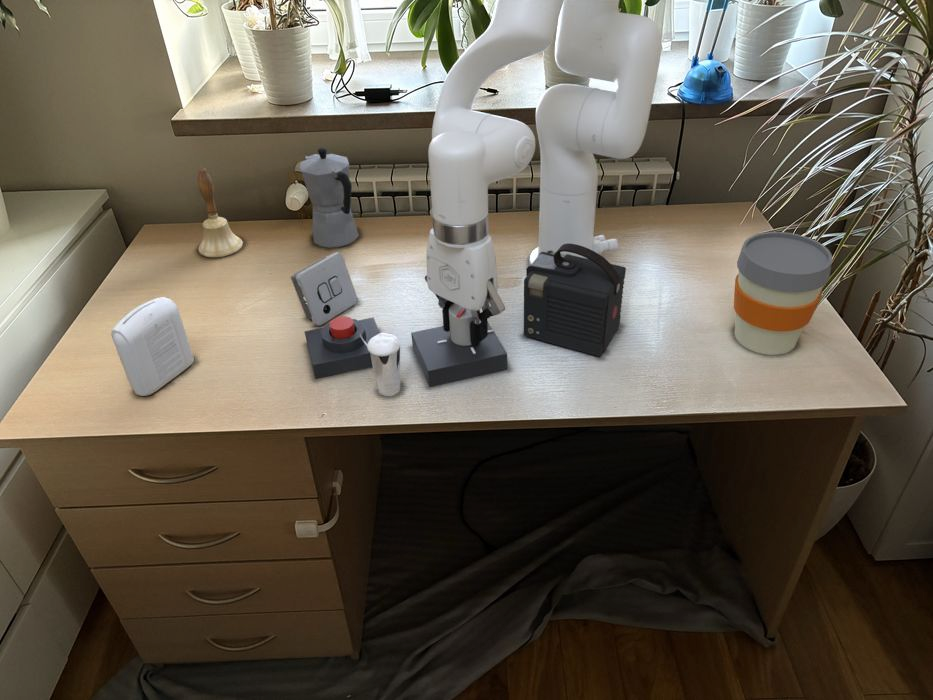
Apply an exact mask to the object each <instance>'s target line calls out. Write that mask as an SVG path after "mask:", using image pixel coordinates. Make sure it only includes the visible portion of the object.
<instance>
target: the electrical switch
mask: <svg viewBox="0 0 933 700" xmlns="http://www.w3.org/2000/svg"><path fill="white" fill-rule="evenodd" d="M290 280H291V283H292V285H293V287H294V290H295V292H296V295H297V297H298V300H299V302H300V305H301V307H302V310H303V314H304V315H305V317H306V319H309V320H312V323H313V325H314V326H317V327H318V326H322V325H323V326H324V324H325V323H326V324H327V322H329V321H331V320H333V319H334V318H336V317H338V315H340V314H342V313H343V312H345V311H346V310H348V309H350V308H352V306H354V305H355V304H357V302H358V296H357V293H356V290H355V286H354V285H353V284H354V283H353V281H352V279H351V276H350V273H349V271H348V267H347V265H346V261H345V259H344V256H343V254H342V253H339V252H334V253H332V254H330V255H328V256H324V257H322V258H320V259H319V260H317V261H315V262H313V263H312V264H310V265H308V266H306V267H304V268H302V269H301V270H299V271H298V272H295V273H294V274H292V275H291V276H290Z"/></svg>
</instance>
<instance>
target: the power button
mask: <svg viewBox="0 0 933 700" xmlns="http://www.w3.org/2000/svg"><path fill="white" fill-rule="evenodd" d="M353 319H354V318H352V317H350V316H346V315H341V316H335V317H334V318H332V319H330V322H329V323H330V324H329V325H330V331H331V335H332V337H334V338H337V339H344V338H349V337H351V336H352V335H354V333H355V327H354V321H353Z"/></svg>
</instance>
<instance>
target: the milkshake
mask: <svg viewBox="0 0 933 700" xmlns="http://www.w3.org/2000/svg"><path fill="white" fill-rule="evenodd" d="M360 337H361V339H362V340H363V342H364V343H365V344H366V346H367V348H368V352H369V356H370V359H371V363H372V367H371V368H372V370H373V375H374V379H375V380H374V381H375V384H376V388H377V391H378V393H379V395H381V396H384V397H393V396H395V395H397V394H399V393H400V390H401V387H402V385H401V382H402V381H401V380H402V379H401V342H400V339H399V338H398V337H396V336H395V335H394V334H392V333H389V332H388V333H387V332H380V333H379V334H378V335H376V336H374V337H372V338H371V339H370V340H369V342H368V345H367V343H366V342H365V341H364V339H363V338H362V336H361V335H360Z"/></svg>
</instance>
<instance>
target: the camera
mask: <svg viewBox="0 0 933 700" xmlns="http://www.w3.org/2000/svg"><path fill="white" fill-rule="evenodd" d="M564 251H565V252H571V253H575V254H578V255H581V256H583V257H585V258H582V257H577V256H573V255H569V254H566V255H564V254H560V252H564ZM586 258H587V259H586ZM525 270H526V271H525V272H526V276H525V277H524V279H523V335H524V336H525V337H528V338H532V339H534V340H539V341H543V342H545V343H548V344H552V345H556V346H559V347H563V348H567V349H571V350H574V351H578V352H582V353H586V354H589V355H593V356H596V357H601V356H602V355H603V354H604V352H606V349H607V347H608V345H609V344H610V343H611V341H612V340H613V337H614V336H615V335H616V332H617V331H618V329H619V328H620V324H621V317H622V314H621V312H622V307H623V306H622V303H623V298H624V296H623V293H624V284H625V279H626V271H627V268H626V266H624V265H623V266H622V265H618V264H613V263H611V262H610V261H608V260H607V259H606V258H605V257H604V256H602V255H601V254H598V253H596V252H594V251H592V250H590V249H588V248H586V247H583V246H580V245H576V244H563V245H562V246H561V247H560V248H559V249H558V250H557V252H556V253H555V252H553V251H551V250H550V251H548V252H547V253H546V252H540V253H539V255H538V257H537V258H536V259H535V261H534V262H533V263H532V264H531V265H530V264H529V265H528V266H527V267H526V269H525Z"/></svg>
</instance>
